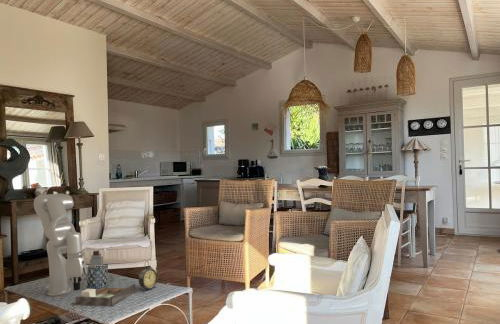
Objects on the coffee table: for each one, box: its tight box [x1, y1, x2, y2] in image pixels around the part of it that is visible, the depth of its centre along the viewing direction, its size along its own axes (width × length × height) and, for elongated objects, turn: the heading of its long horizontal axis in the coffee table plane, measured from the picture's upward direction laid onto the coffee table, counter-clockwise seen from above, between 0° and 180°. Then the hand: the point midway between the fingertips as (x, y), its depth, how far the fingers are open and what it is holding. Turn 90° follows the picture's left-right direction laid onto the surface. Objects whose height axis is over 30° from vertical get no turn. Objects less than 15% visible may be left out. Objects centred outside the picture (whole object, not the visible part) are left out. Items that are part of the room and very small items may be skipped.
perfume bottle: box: [89, 250, 104, 267], centre depth 251 cm, size 7×7×18 cm
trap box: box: [75, 283, 137, 307], centre depth 210 cm, size 22×22×4 cm
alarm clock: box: [138, 261, 158, 293], centre depth 221 cm, size 11×5×16 cm, turn 148°
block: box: [80, 288, 96, 297], centre depth 206 cm, size 5×5×4 cm
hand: (77, 289), depth 208 cm, fingers closed
